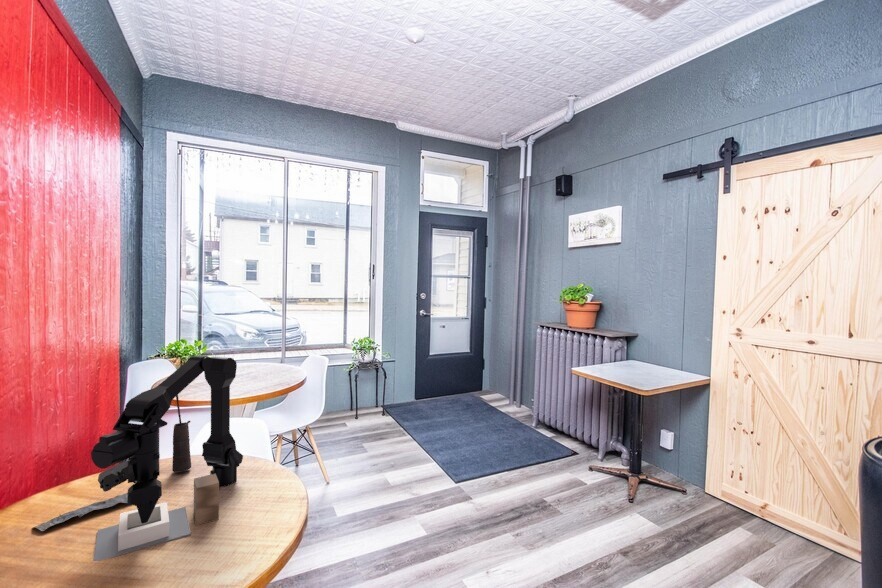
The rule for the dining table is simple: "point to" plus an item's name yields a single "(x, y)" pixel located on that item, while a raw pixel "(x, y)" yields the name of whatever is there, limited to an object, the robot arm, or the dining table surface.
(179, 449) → the butter churn
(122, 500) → the grey flat stone bar
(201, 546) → the dining table surface
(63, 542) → the dining table surface
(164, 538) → the square frame on plate
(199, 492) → the wooden block
